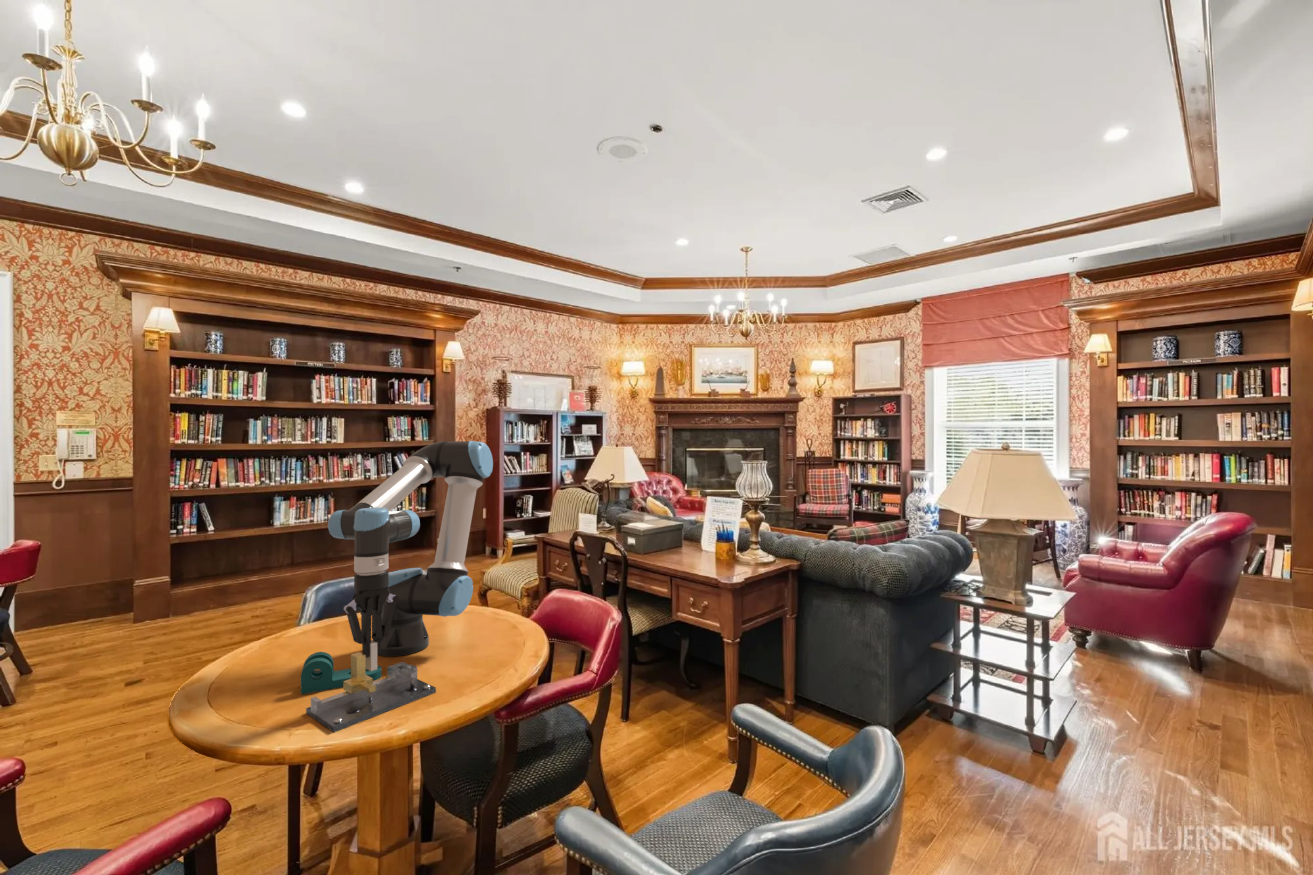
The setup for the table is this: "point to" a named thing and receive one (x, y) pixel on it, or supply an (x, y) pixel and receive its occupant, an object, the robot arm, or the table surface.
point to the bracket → (326, 674)
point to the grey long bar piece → (396, 676)
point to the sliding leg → (359, 677)
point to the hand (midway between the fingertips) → (371, 668)
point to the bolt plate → (372, 705)
